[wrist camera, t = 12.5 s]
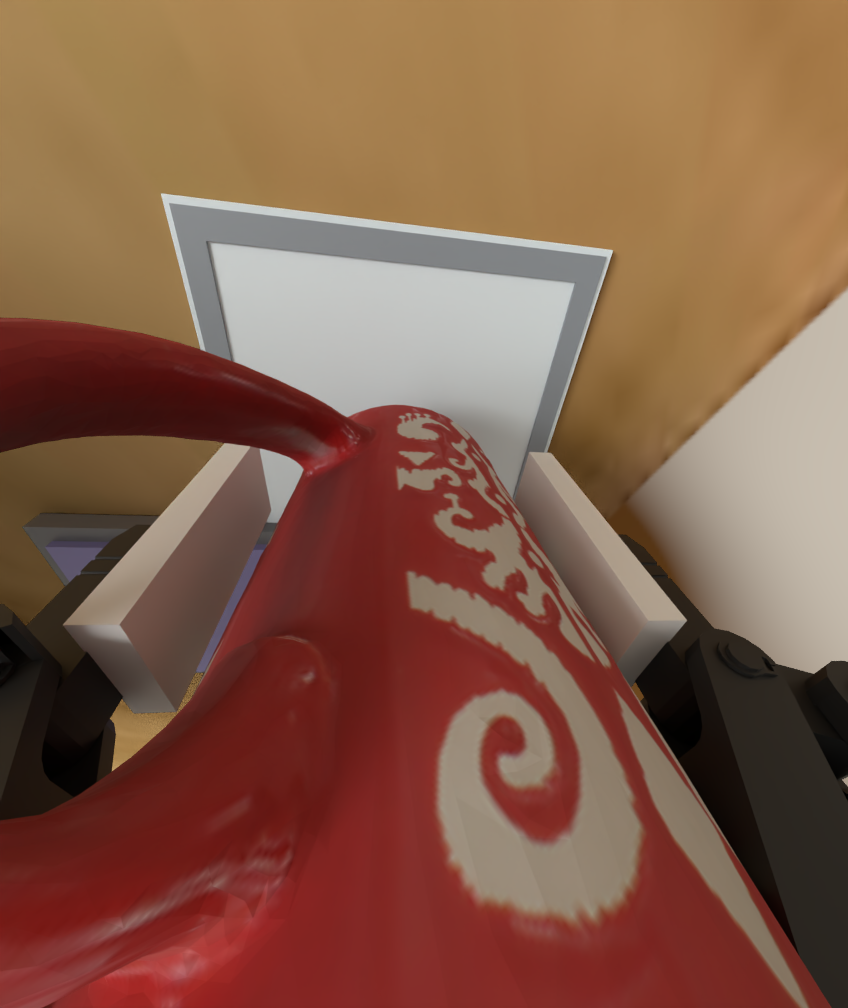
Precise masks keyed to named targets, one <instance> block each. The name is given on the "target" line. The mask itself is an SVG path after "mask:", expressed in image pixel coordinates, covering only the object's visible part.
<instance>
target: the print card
mask: <svg viewBox="0 0 848 1008" xmlns="http://www.w3.org/2000/svg"><path fill="white" fill-rule="evenodd" d="M161 196H162V200H163V204H164V207H165V211H166V215H167V219H168V223H169V227H170V231H171V235H172V239H173V243H174V247H175V251H176V255H177V258H178V262H179V266H180V270H181V274H182V278H183V282H184V286H185V290H186V294H187V298H188V302H189V306H190V309H191V313H192V317H193V321H194V325H195V329H196V333H197V337H198V341H199V345H200V349H201V350H203V351H205V352H208V353H211V354H214V355H216V356H219V357H222V358H225V359H228V360H230V361H233V362H236V363H239V364H241V365H244V366H246V367H248V368H251V369H253V370H255V371H258V372H260V373H263V374H265V375H267V376H270V377H272V378H275V379H277V380H279V381H281V382H283V383H286V384H288V385H290V386H292V387H294V388H296V389H298V390H300V391H302V392H305V393H307V394H309V395H311V396H313V397H315V398H317V399H318V400H320V401H322V402H324V403H326V404H327V405H329V406H330V407H332V408H334V409H335V410H336V411H338V412H339V413H341V414H342V415H344V416H346V417H349V416H351V415H353V414H355V413H358V412H361V411H364V410H367V409H370V408H374V407H379V406H386V405H408V406H414V407H421V408H425V409H429V410H432V411H434V412H436V413H439V414H442V415H444V416H446V417H448V418H450V419H451V420H452V421H454V422H455V423H457V424H459V425H460V426H461V427H462V428H463V429H465V430H466V431H467V432H468V433H469V434H470V435H471V436H472V437H473V439H474V440H475V441H476V442H477V443H478V445H479V446H480V448H481V449H482V451H483V452H484V454H485V455H486V457H487V458H488V459H489V461H490V462H491V464H492V466H493V468H494V470H495V472H496V474H497V476H498V478H499V479H500V481H501V482H502V484H503V485H504V487H505V488H506V490H507V491H508V493H509V495H510V496H511V498H512V499H513V501H514V502H515V498H516V495H517V492H518V488H519V485H520V481H521V478H522V475H523V471H524V468H525V464H526V461H527V458H528V454H529V452H542V453H547V451H548V448H549V445H550V442H551V439H552V436H553V433H554V430H555V427H556V424H557V421H558V417H559V414H560V411H561V408H562V405H563V402H564V399H565V396H566V393H567V390H568V387H569V384H570V381H571V378H572V375H573V372H574V369H575V366H576V362H577V359H578V356H579V353H580V350H581V347H582V344H583V341H584V338H585V335H586V332H587V329H588V326H589V323H590V320H591V317H592V314H593V311H594V307H595V304H596V301H597V298H598V295H599V292H600V289H601V286H602V283H603V280H604V277H605V274H606V271H607V268H608V265H609V262H610V259H611V256H612V252H613V250H607V249H599V248H592V247H584V246H576V245H568V244H560V243H552V242H544V241H536V240H528V239H520V238H512V237H504V236H496V235H488V234H480V233H472V232H464V231H456V230H448V229H440V228H432V227H424V226H417V225H409V224H401V223H393V222H385V221H377V220H369V219H361V218H353V217H345V216H337V215H329V214H321V213H313V212H305V211H297V210H289V209H281V208H273V207H265V206H257V205H249V204H242V203H234V202H226V201H218V200H210V199H202V198H194V197H186V196H178V195H170V194H162V193H161ZM260 454H261V459H262V464H263V469H264V475H265V480H266V485H267V490H268V495H269V500H270V505H271V513H270V515H269V517H268V519H267V521H266V522H268V523H278V521H279V519H280V518H281V516H282V514H283V512H284V509H285V507H286V505H287V503H288V501H289V499H290V497H291V496H292V494H293V492H294V490H295V488H296V485H297V483H298V481H299V479H300V477H301V474H302V472H303V468H302V466H300V465H299V464H298V463H297V462H296V461H294V460H293V459H291V458H289V457H287V456H284V455H281V454H278V453H275V452H271V451H268V450H264V449H260ZM265 524H266V523H265Z"/></svg>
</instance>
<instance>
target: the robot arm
mask: <svg viewBox="0 0 848 1008" xmlns="http://www.w3.org/2000/svg"><path fill="white" fill-rule="evenodd" d="M515 504H516V505H517V507H518V509H519V510H520V512H521V514H522V515H523V517H524V519H525V520H526V522H527V523H528V525H529V526H530V528H531V529H532V531H533V533H534V534H535V536H536V538H537V539H538V541H539V543H540V544H541V546H542V548H543V549H544V551H545V553H546V555H547V556H548V558H549V560H550V562H551V563H552V565H553V566H554V568H555V569H556V571H557V572H558V574H559V576H560V578H561V579H562V581H563V583H564V584H565V586H566V587H567V589H568V590H569V592H570V593H571V595H572V597H573V598H574V600H575V601H576V603H577V604H578V606H579V607H580V609H581V610H582V612H583V614H584V615H585V617H586V618H587V619H588V620H589V622H590V623H591V625H592V626H593V628H594V630H595V631H596V633H597V634H598V636H599V638H600V639H601V641H602V642H603V644H604V645H605V647H606V648H607V650H608V651H609V653H610V654H611V656H612V657H613V659H614V661H615V663H616V664H617V666H618V668H619V669H620V671H621V673H622V675H623V676H624V678H625V679H626V681H627V682H628V684H629V686H630V687H632V686H633V684H634V683H635V682H636V683H637V685H638V687H639V689H640V691H641V692H642V694H643V696H644V698H643V699H642V700H641V701H640V703H641V704H642V706H643V707H644V709H645V710H646V712H647V713H648V715H649V716H650V718H651V720H652V721H653V723H654V724H655V726H656V727H657V729H658V730H659V732H660V733H661V735H662V736H663V738H664V740H665V741H666V743H667V744H668V746H669V747H670V749H671V751H672V752H673V754H674V755H675V757H676V758H677V760H678V762H679V763H680V765H681V766H682V768H683V770H684V771H685V773H686V774H687V776H688V778H689V779H690V781H691V783H692V784H693V786H694V787H695V789H696V791H697V792H698V794H699V796H700V797H701V799H702V801H703V802H704V804H705V805H706V807H707V809H708V810H709V812H710V814H711V815H712V817H713V818H714V820H715V822H716V823H717V825H718V827H719V828H720V830H721V832H722V833H723V835H724V836H725V838H726V840H727V841H728V843H729V845H730V846H731V848H732V849H733V851H734V853H735V854H736V856H737V858H738V859H739V861H740V862H741V864H742V865H743V867H744V869H745V870H746V872H747V873H748V875H749V877H750V878H751V880H752V881H753V883H754V885H755V886H756V888H757V889H758V891H759V893H760V894H761V896H762V897H763V899H764V901H765V902H766V904H767V905H768V907H769V908H770V910H771V912H772V913H773V915H774V917H775V918H776V920H777V921H778V923H779V925H780V926H781V928H782V929H783V931H784V933H785V934H786V936H787V937H788V939H789V941H790V942H791V944H792V945H793V947H794V949H795V950H796V952H797V953H798V955H799V957H800V958H801V960H802V961H803V963H804V965H805V966H806V968H807V969H808V971H809V973H810V974H811V976H812V977H813V979H814V981H815V982H816V984H817V985H818V987H819V989H820V990H821V992H822V993H823V995H824V997H825V998H826V1000H827V1001H828V1003H829V1004H830V1006H831V1008H848V787H847V785H846V784H845V783H844V782H843V781H842V779H844V778H846V777H848V662H846V661H831V662H830V663H829V664H827V665H826V666H824V667H823V668H822V669H820V670H819V671H818V672H816V673H815V674H812V673H808V672H804V671H800V670H797V669H793V668H789V667H786V666H782V665H778V664H775V662H774V661H773V660H772V659H771V658H770V657H769V656H768V655H767V654H765V653H764V652H763V651H762V650H761V649H760V648H759V647H757V646H756V645H754V644H752V643H751V642H749V641H748V640H746V639H745V638H743V637H740V636H738V635H736V634H734V633H731V632H729V631H724V630H719V629H714V628H713V627H712V626H711V624H710V623H709V622H708V621H707V620H706V619H705V618H704V616H703V615H702V614H701V613H700V612H699V611H698V609H697V608H696V607H695V606H694V605H693V604H692V603H691V602H690V600H689V599H688V598H687V597H686V596H685V594H683V592H682V591H681V590H680V589H679V588H678V586H677V585H676V584H675V583H674V582H673V581H672V579H670V578H668V577H667V576H668V575H667V574H666V573H665V572H664V570H663V569H662V568H661V567H660V566H657V562H656V561H655V560H654V559H653V558H652V556H651V555H650V554H649V553H648V552H647V551H646V549H645V548H644V547H642V546H641V545H639V544H638V543H637V542H635V541H634V540H632V539H631V538H630V537H628V536H627V535H618V534H616V533H615V531H614V530H613V529H612V527H611V526H610V525H609V524H608V522H607V521H606V520H605V519H604V518H603V516H602V515H601V514H600V513H599V511H598V510H597V509H596V508H595V506H594V505H593V504H592V503H591V502H590V500H589V499H588V498H587V497H586V495H585V494H584V493H583V492H582V490H581V489H580V488H579V487H578V486H577V484H576V483H575V482H574V481H573V479H572V478H571V477H570V476H569V474H568V473H567V472H566V471H565V470H564V468H563V467H562V466H561V465H560V463H559V462H558V461H557V460H556V458H555V457H554V456H553V455H552V454H551V453H542V452H529V454H528V458H527V461H526V464H525V468H524V471H523V475H522V478H521V481H520V485H519V488H518V492H517V495H516V498H515ZM270 513H271V505H270V500H269V495H268V490H267V485H266V480H265V475H264V469H263V464H262V459H261V454H260V449H259V448H254V447H250V446H243V445H235V444H228V443H224V445H223V446H222V447H221V448H220V449H219V450H218V451H217V452H216V454H215V455H214V456H213V457H212V458H211V459H210V460H209V461H208V463H207V464H206V465H205V466H204V467H203V468H202V469H201V470H200V472H199V473H198V474H197V475H196V476H195V477H194V478H193V479H192V480H191V482H190V483H189V484H188V485H187V486H186V487H185V488H184V489H183V491H182V492H181V493H180V494H179V495H178V496H177V497H176V498H175V500H174V501H173V502H172V503H171V504H170V505H169V506H168V507H167V509H166V510H165V511H164V512H163V513H162V514H161V515H160V516H159V518H158V519H157V520H156V521H155V522H154V523H153V524H152V525H137V524H136V525H135V526H133V527H131V528H130V529H128V530H126V531H125V532H123V533H121V534H120V535H118V536H116V537H115V538H113V539H112V540H111V541H110V542H109V543H108V544H107V545H106V546H105V547H104V548H103V549H102V550H101V551H100V552H99V553H98V554H97V555H96V556H95V560H91V561H90V562H89V563H88V564H87V565H86V566H85V567H84V568H83V569H82V570H81V571H80V572H81V574H80V575H76V576H75V577H74V578H73V579H72V580H71V581H70V582H69V583H68V584H67V585H66V586H65V587H64V588H63V589H62V590H61V591H60V592H59V593H58V594H57V595H56V596H55V598H54V599H53V600H52V601H51V602H50V603H49V604H48V605H47V606H46V607H45V608H44V609H43V610H42V611H41V612H40V613H39V614H38V615H37V616H36V617H35V618H34V619H33V620H32V621H31V622H30V623H29V624H28V625H27V626H25V625H24V624H23V623H22V622H21V620H20V619H19V618H18V617H17V616H16V615H15V614H14V613H13V612H12V611H11V610H10V609H9V608H7V607H6V606H5V605H4V604H0V820H7V819H14V818H21V817H28V816H35V815H41V814H43V813H45V812H48V811H49V810H51V809H53V808H55V807H57V806H59V805H61V804H63V803H65V802H67V801H69V800H70V799H72V798H74V797H76V796H78V795H79V794H81V793H82V792H84V791H85V790H87V789H88V788H89V787H91V786H92V785H94V784H95V783H96V782H98V781H99V780H101V779H102V778H104V777H105V776H106V775H108V774H109V773H111V772H112V763H113V754H114V745H115V737H116V733H115V727H114V723H113V722H112V721H111V720H110V717H111V716H112V714H113V712H114V711H115V709H116V707H117V706H118V704H119V703H120V701H121V699H123V700H124V702H125V703H126V704H127V705H128V707H129V708H130V709H131V710H132V712H133V713H160V712H177V710H178V708H179V706H180V704H181V702H182V699H183V697H184V695H185V693H186V691H187V689H188V687H189V685H190V683H191V680H192V678H193V676H194V674H195V672H196V670H197V668H198V666H199V663H200V661H201V659H202V657H203V655H204V653H205V651H206V649H207V646H208V644H209V642H210V640H211V638H212V636H213V634H214V632H215V629H216V627H217V625H218V623H219V621H220V619H221V617H222V615H223V612H224V610H225V608H226V606H227V604H228V602H229V600H230V598H231V595H232V593H233V591H234V589H235V587H236V585H237V583H238V581H239V578H240V576H241V574H242V572H243V570H244V568H245V566H246V564H247V561H248V559H249V557H250V555H251V553H252V551H253V549H254V547H255V545H256V542H257V540H258V538H259V536H260V534H261V532H262V530H263V528H264V525H265V523H266V521H267V519H268V517H269V515H270Z"/></svg>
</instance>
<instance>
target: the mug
mask: <svg viewBox="0 0 848 1008" xmlns="http://www.w3.org/2000/svg"><path fill="white" fill-rule="evenodd" d="M132 435H145V436H167V437H177V438H185V439H194V440H208V441H217V442H222V443H228V444H235V445H243V446H250V447H254V448H259V449H264V450H268V451H271V452H275V453H278V454H281V455H284V456H287V457H289V458H291V459H293V460H294V461H296V462H297V463H298V464H299V465H300V466H302V468H303V472H302V474H301V477H300V479H299V481H298V483H297V485H296V488H295V490H294V492H293V494H292V496H291V497H290V499H289V501H288V503H287V505H286V507H285V509H284V512H283V514H282V516H281V518H280V519H279V521H278V523H277V525H276V527H275V530H274V532H273V534H272V536H271V538H270V540H269V542H268V544H267V546H266V548H265V550H264V551H263V553H262V555H261V556H260V558H259V561H258V563H257V565H256V567H255V570H254V572H253V574H252V576H251V578H250V580H249V582H248V584H247V586H246V588H245V590H244V592H243V594H242V596H241V598H240V600H239V602H238V604H237V606H236V608H235V610H234V612H233V614H232V616H231V618H230V620H229V622H228V624H227V626H226V628H225V631H224V633H223V635H222V637H221V639H220V641H219V643H218V645H217V647H216V649H215V651H214V653H213V655H212V658H211V660H210V662H209V664H208V666H207V668H206V670H205V672H204V674H203V676H202V678H201V680H200V682H199V684H198V686H197V688H196V690H195V692H194V694H193V696H192V698H191V700H190V701H189V702H188V703H187V704H186V705H185V706H184V708H183V709H182V710H181V711H180V712H179V713H178V714H177V715H176V716H175V717H174V718H173V720H172V721H171V722H170V723H169V724H168V725H167V726H166V727H165V728H164V729H163V730H162V731H160V732H159V733H158V734H157V735H156V736H155V737H154V738H153V739H151V740H150V741H149V742H148V743H147V744H146V745H145V746H144V747H142V748H141V749H140V750H139V751H138V752H137V753H136V754H135V755H133V756H132V757H131V758H130V759H128V760H127V761H126V762H124V763H123V764H122V765H120V766H119V767H118V768H116V769H115V770H114V771H112V772H111V773H109V774H108V775H106V776H105V777H104V778H102V779H101V780H99V781H98V782H96V783H95V784H94V785H92V786H91V787H89V788H88V789H87V790H85V791H84V792H82V793H81V794H79V795H78V796H76V797H74V798H72V799H70V800H69V801H67V802H65V803H63V804H61V805H59V806H57V807H55V808H53V809H51V810H49V811H48V812H45V813H43V814H41V815H35V816H28V817H21V818H14V819H7V820H0V1008H831V1006H830V1004H829V1003H828V1001H827V1000H826V998H825V997H824V995H823V993H822V992H821V990H820V989H819V987H818V985H817V984H816V982H815V981H814V979H813V977H812V976H811V974H810V973H809V971H808V969H807V968H806V966H805V965H804V963H803V961H802V960H801V958H800V957H799V955H798V953H797V952H796V950H795V949H794V947H793V945H792V944H791V942H790V941H789V939H788V937H787V936H786V934H785V933H784V931H783V929H782V928H781V926H780V925H779V923H778V921H777V920H776V918H775V917H774V915H773V913H772V912H771V910H770V908H769V907H768V905H767V904H766V902H765V901H764V899H763V897H762V896H761V894H760V893H759V891H758V889H757V888H756V886H755V885H754V883H753V881H752V880H751V878H750V877H749V875H748V873H747V872H746V870H745V869H744V867H743V865H742V864H741V862H740V861H739V859H738V858H737V856H736V854H735V853H734V851H733V849H732V848H731V846H730V845H729V843H728V841H727V840H726V838H725V836H724V835H723V833H722V832H721V830H720V828H719V827H718V825H717V823H716V822H715V820H714V818H713V817H712V815H711V814H710V812H709V810H708V809H707V807H706V805H705V804H704V802H703V801H702V799H701V797H700V796H699V794H698V792H697V791H696V789H695V787H694V786H693V784H692V783H691V781H690V779H689V778H688V776H687V774H686V773H685V771H684V770H683V768H682V766H681V765H680V763H679V762H678V760H677V758H676V757H675V755H674V754H673V752H672V751H671V749H670V747H669V746H668V744H667V743H666V741H665V740H664V738H663V736H662V735H661V733H660V732H659V730H658V729H657V727H656V726H655V724H654V723H653V721H652V720H651V718H650V716H649V715H648V713H647V712H646V710H645V709H644V707H643V706H642V704H641V703H640V701H639V699H638V698H637V696H636V695H635V693H634V692H633V690H632V689H631V687H630V686H629V684H628V682H627V681H626V679H625V678H624V676H623V675H622V673H621V671H620V669H619V668H618V666H617V664H616V663H615V661H614V659H613V657H612V656H611V654H610V653H609V651H608V650H607V648H606V647H605V645H604V644H603V642H602V641H601V639H600V638H599V636H598V634H597V633H596V631H595V630H594V628H593V626H592V625H591V623H590V622H589V620H588V619H587V618H586V617H585V615H584V614H583V612H582V610H581V609H580V607H579V606H578V604H577V603H576V601H575V600H574V598H573V597H572V595H571V593H570V592H569V590H568V589H567V587H566V586H565V584H564V583H563V581H562V579H561V578H560V576H559V574H558V572H557V571H556V569H555V568H554V566H553V565H552V563H551V562H550V560H549V558H548V556H547V555H546V553H545V551H544V549H543V548H542V546H541V544H540V543H539V541H538V539H537V538H536V536H535V534H534V533H533V531H532V529H531V528H530V526H529V525H528V523H527V522H526V520H525V519H524V517H523V515H522V514H521V512H520V510H519V509H518V507H517V505H516V504H515V502H514V501H513V499H512V498H511V496H510V495H509V493H508V491H507V490H506V488H505V487H504V485H503V484H502V482H501V481H500V479H499V478H498V476H497V474H496V472H495V470H494V468H493V466H492V464H491V462H490V461H489V459H488V458H487V457H486V455H485V454H484V452H483V451H482V449H481V448H480V446H479V445H478V443H477V442H476V441H475V440H474V439H473V437H472V436H471V435H470V434H469V433H468V432H467V431H466V430H465V429H463V428H462V427H461V426H460V425H459V424H457V423H455V422H454V421H452V420H451V419H450V418H448V417H446V416H444V415H442V414H439V413H436V412H434V411H432V410H429V409H425V408H421V407H414V406H408V405H386V406H379V407H374V408H370V409H367V410H364V411H361V412H358V413H355V414H353V415H351V416H349V417H346V416H344V415H342V414H341V413H339V412H338V411H336V410H335V409H334V408H332V407H330V406H329V405H327V404H326V403H324V402H322V401H320V400H318V399H317V398H315V397H313V396H311V395H309V394H307V393H305V392H302V391H300V390H298V389H296V388H294V387H292V386H290V385H288V384H286V383H283V382H281V381H279V380H277V379H275V378H272V377H270V376H267V375H265V374H263V373H260V372H258V371H255V370H253V369H251V368H248V367H246V366H244V365H241V364H239V363H236V362H233V361H230V360H228V359H225V358H222V357H219V356H216V355H214V354H211V353H208V352H205V351H203V350H200V349H197V348H194V347H191V346H187V345H184V344H181V343H178V342H174V341H170V340H166V339H162V338H158V337H154V336H151V335H147V334H143V333H137V332H131V331H125V330H119V329H113V328H107V327H101V326H95V325H89V324H83V323H77V322H65V321H52V320H40V319H27V318H0V452H4V451H8V450H12V449H16V448H20V447H24V446H28V445H33V444H37V443H42V442H49V441H57V440H61V439H69V438H80V437H87V436H132Z"/></svg>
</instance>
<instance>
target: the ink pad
mask: <svg viewBox="0 0 848 1008" xmlns="http://www.w3.org/2000/svg"><path fill="white" fill-rule="evenodd" d="M158 518H159V516H135V515H94V514H52V513H40V514H39V515H38V516H36V517H35V518H34V519H32V520H31V521H29V522H28V523H27V524H25V525H24V526H23V527H22V528H23V529H24V530H25V532H26V533H27V534H28V536H29V537H30V539H31V540H32V541H33V543H34V544H35V545H36V547H37V548H38V550H39V551H40V552H41V554H42V555H43V556H44V558H45V559H46V561H47V562H48V563H49V565H50V566H51V567H52V569H53V570H54V572H55V573H56V574H57V576H58V577H59V579H60V580H61V581H62V583H63V584H64V585H65V586H66V585H67V584H68V583H69V582H70V581H71V580H72V579H73V578H74V577H75V576H76V575H80V574H81V572H80V571H81V570H82V569H83V568H84V567H85V566H86V565H87V564H88V563H89V562H90V561H91V560H95V556H96V555H97V554H98V553H99V552H100V551H101V550H102V549H103V548H104V547H105V546H106V545H107V544H108V543H109V542H110V541H111V540H112V539H113V538H115V537H116V536H118V535H120V534H121V533H123V532H125V531H126V530H128V529H130V528H131V527H133V526H135V525H136V524H137V525H152V524H153V523H154V522H155V521H156V520H157V519H158ZM276 525H277V523H268V522H266V524H265V525H264V528H263V530H262V532H261V534H260V536H259V538H258V540H257V542H256V545H255V547H254V549H253V551H252V553H251V555H250V557H249V559H248V561H247V564H246V566H245V568H244V570H243V572H242V574H241V576H240V578H239V581H238V583H237V585H236V587H235V589H234V591H233V593H232V595H231V598H230V600H229V602H228V604H227V606H226V608H225V610H224V612H223V615H222V617H221V619H220V621H219V623H218V625H217V627H216V629H215V632H214V634H213V636H212V638H211V640H210V642H209V644H208V646H207V649H206V651H205V653H204V655H203V657H202V659H201V661H200V663H199V666H198V668H197V670H196V672H195V673H204V672H205V670H206V668H207V666H208V664H209V662H210V660H211V658H212V655H213V653H214V651H215V649H216V647H217V645H218V643H219V641H220V639H221V637H222V635H223V633H224V631H225V628H226V626H227V624H228V622H229V620H230V618H231V616H232V614H233V612H234V610H235V608H236V606H237V604H238V602H239V600H240V598H241V596H242V594H243V592H244V590H245V588H246V586H247V584H248V582H249V580H250V578H251V576H252V574H253V572H254V570H255V567H256V565H257V563H258V561H259V558H260V556H261V555H262V553H263V551H264V550H265V548H266V546H267V544H268V542H269V540H270V538H271V536H272V534H273V532H274V530H275V527H276Z"/></svg>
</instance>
